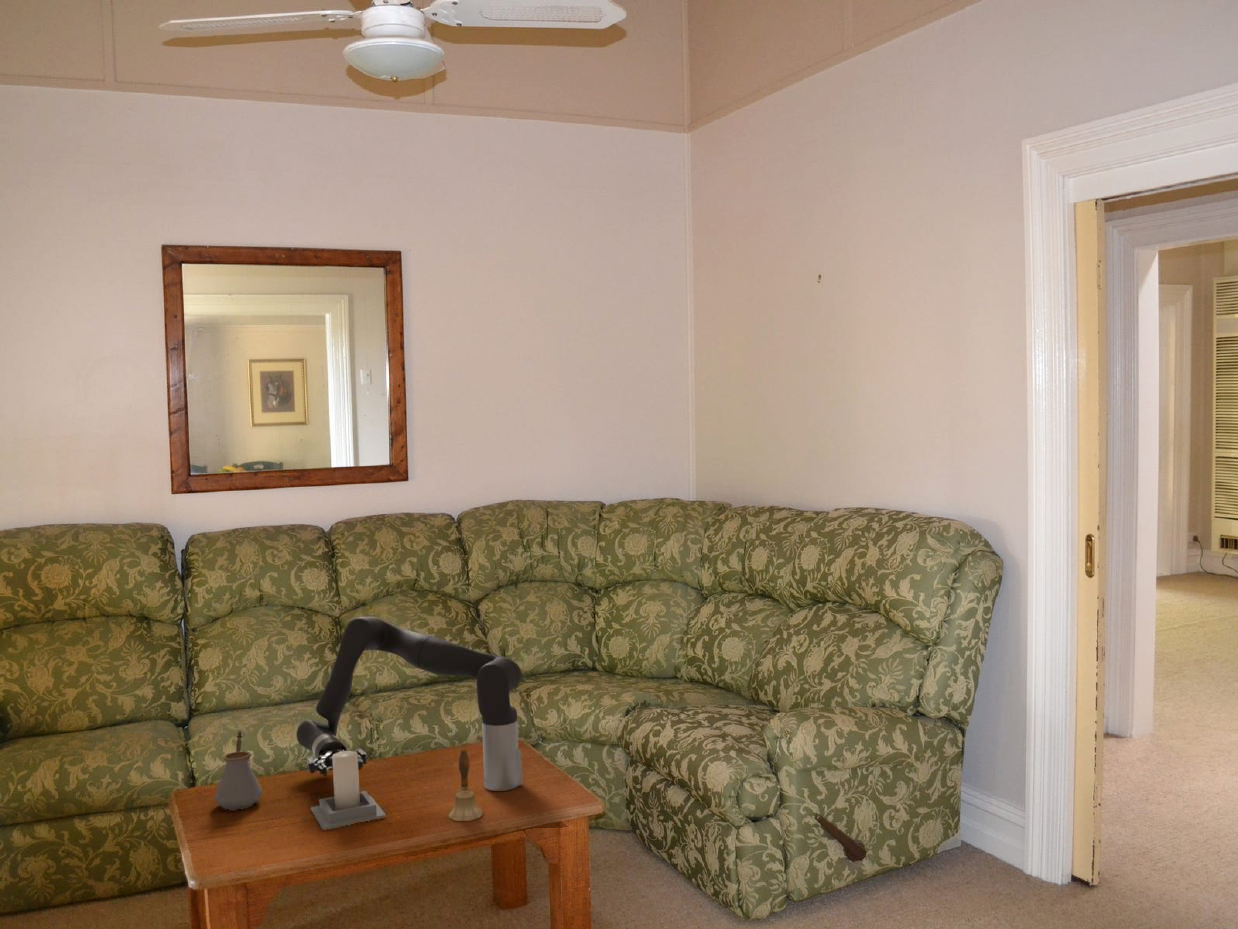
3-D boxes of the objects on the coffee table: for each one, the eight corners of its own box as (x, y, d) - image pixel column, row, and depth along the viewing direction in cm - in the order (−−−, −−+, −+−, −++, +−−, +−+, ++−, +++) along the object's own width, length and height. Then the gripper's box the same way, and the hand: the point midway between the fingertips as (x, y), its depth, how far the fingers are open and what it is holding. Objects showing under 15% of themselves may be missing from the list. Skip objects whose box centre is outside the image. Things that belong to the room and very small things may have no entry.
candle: (357, 804, 264) (354, 749, 263) (362, 812, 258) (359, 756, 258) (332, 809, 261) (330, 753, 260) (337, 817, 256) (335, 760, 255)
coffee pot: (261, 810, 264) (259, 751, 264) (212, 816, 261) (210, 756, 260) (265, 782, 285) (262, 727, 284) (219, 787, 282) (217, 732, 281)
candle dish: (370, 799, 270) (370, 787, 270) (385, 818, 256) (385, 805, 256) (311, 810, 263) (310, 798, 263) (323, 830, 250) (322, 818, 249)
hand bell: (444, 813, 259) (442, 749, 258) (477, 806, 262) (474, 743, 262) (454, 824, 251) (451, 758, 251) (487, 818, 255) (485, 753, 254)
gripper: (300, 741, 273) (313, 758, 259) (355, 732, 280) (370, 749, 265) (301, 770, 274) (314, 788, 259) (356, 760, 280) (371, 778, 266)
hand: (342, 768), depth 262 cm, fingers open, 8 cm apart
